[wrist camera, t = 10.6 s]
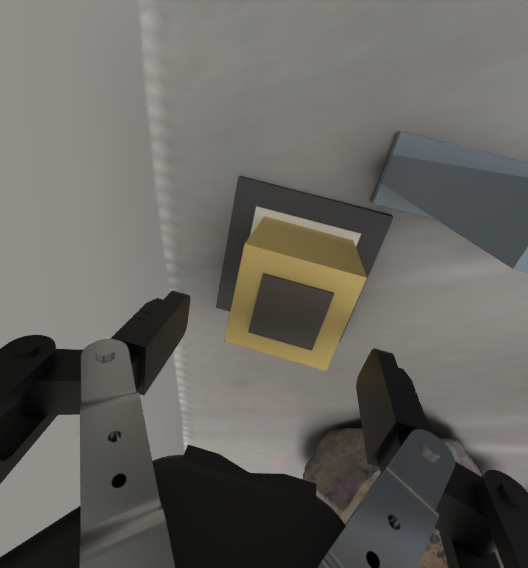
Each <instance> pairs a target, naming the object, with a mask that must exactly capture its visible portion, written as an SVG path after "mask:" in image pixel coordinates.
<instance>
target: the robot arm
mask: <svg viewBox="0 0 528 568" xmlns="http://www.w3.org/2000/svg"><path fill="white" fill-rule="evenodd" d="M189 306H190V295H187V294H183V293H180V292H176V291H171V292H170V293H169V294H168V296H167V297H166V298H165V299H164V300H162V299H158V298H157V299H154V300H152V301H150V302H148V303H146V304H145V305H144V306H143V307H142V308H141V309H140V310H139V312H137V313H136V314H135V315H134V316H133V318H131V319H130V320H129V321H128V322H127V323H126V324H125V325H124V326H123V327H122V328H121V329H120V330H119V331H118V332H117V333H116V334H115V335H114V336H113V337H112V338H111V339H104V340H99V341H96V342H94V343H92V344H90V345H88V346H87V347H86V348H85V349H84V350H70V349H56V345H55V342H54V341H53V340H52V339H51V338H49V337H47V336H43V335H30V336H24V337H21V338H18V339H15V340H13V341H11V342H9V343H8V344H6V345H5V346H4V347H2V348H1V349H0V484H1V482H2V481H3V480H4V479H5V478H6V476H7V475H8V474H9V473H10V471H11V470H12V469H13V468H14V467H15V466H16V464H17V463H18V462H19V461H20V460H21V458H22V457H23V456H24V455H25V453H26V452H27V451H28V450H29V449H30V448H31V446H32V445H33V444H34V443H35V442H36V440H37V439H38V438H39V437H40V436H41V434H42V433H43V432H44V431H45V430H46V428H47V427H48V426H49V425H50V424H51V422H52V421H53V420H54V419H55V418H56V416H57V415H67V414H68V415H70V414H80V486H81V487H80V493H81V494H80V498H81V499H80V500H81V506H79V507H78V508H76V509H75V510H73V511H71V512H70V513H68V514H67V515H65V516H64V517H62V518H61V519H59V520H58V521H56V522H54V523H53V524H51V525H50V526H48V527H47V528H45V529H44V530H42V531H41V532H39V533H37V534H36V535H34V536H33V537H31V538H30V539H28V540H27V541H25V542H23V543H22V544H20V545H19V546H17V547H16V548H14V549H12V550H11V551H9V552H8V553H6V554H5V555H3V556H2V557H0V568H417V567H418V565H419V563H420V560H421V558H422V556H423V553H424V551H425V549H426V546H427V544H428V542H429V539H430V537H431V535H432V532H433V530H434V528H435V529H437V530H438V531H439V533H440V536H441V540H442V544H443V548H444V552H445V556H446V560H447V564H448V568H501V567H500V564H499V562H498V559H497V556H496V554H495V551H496V550H497V551H498V553H499V556H500V558H501V561H502V564H503V566H504V568H528V492H527V491H526V490H525V489H524V488H523V487H522V486H521V485H520V484H519V483H518V482H516V481H515V480H514V479H512V478H511V477H510V476H508V475H506V474H504V473H502V472H500V471H497V470H488V471H487V472H485V473H484V474H483V475H482V476H480V475H478V474H476V473H474V472H473V471H471V470H469V469H467V468H466V467H464V466H462V465H460V464H459V463H457V462H456V461H455V460H454V457H453V454H452V452H451V451H450V449H449V448H448V447H447V445H446V444H445V443H444V442H443V441H442V440H441V439H440V438H438V437H437V436H436V435H434V434H432V433H431V430H430V428H429V425H428V422H427V420H426V417H425V414H424V412H423V409H422V407H421V404H420V402H419V399H418V396H417V393H415V388H414V385H413V383H412V380H411V379H410V377H409V376H408V375H407V374H406V372H405V371H404V370H403V369H401V368H398V366H397V363H396V360H395V357H394V355H393V354H392V353H389V352H385V351H382V350H378V349H373V350H372V351H371V352H370V354H369V356H368V358H367V360H366V362H365V364H364V366H363V368H362V369H361V371H360V373H359V376H358V379H357V384H356V389H357V396H358V403H359V409H360V416H361V423H362V430H363V436H364V443H365V450H366V456H367V463H368V464H371V465H374V466H378V467H379V468H380V475H379V476H378V478H377V479H376V480H375V482H374V483H373V485H372V486H371V487H370V489H369V490H368V492H367V493H366V494H365V496H364V497H363V499H362V500H361V502H360V503H359V504H358V506H357V507H356V509H355V510H354V511H353V513H352V514H351V516H350V517H349V518H348V520H347V521H346V522H345V524H344V522H343V521H342V519H341V518H340V517H339V516H338V515H337V513H336V512H335V511H334V510H333V509H332V508H331V507H330V506H329V505H328V504H327V503H325V502H324V501H323V500H322V499H320V498H319V497H317V496H316V483H312V482H309V481H306V480H303V479H299V478H296V477H293V476H289V475H286V474H263V473H249V472H247V471H245V470H244V469H242V468H241V467H239V466H237V465H236V464H234V463H233V462H231V461H229V460H228V459H226V458H225V457H223V456H221V455H220V454H217V453H214V452H211V451H207V450H204V449H201V448H197V447H194V446H191V445H188V446H187V448H186V451H185V453H184V455H173V456H167V457H162V458H159V459H156V460H154V461H152V457H151V452H150V447H149V441H148V437H147V431H146V425H145V421H144V415H143V410H142V405H141V399H140V395H139V394H141V395H145V393H146V392H147V390H148V389H149V387H150V386H151V384H152V383H153V381H154V380H155V378H156V377H157V375H158V374H159V372H160V371H161V369H162V368H163V366H164V365H165V363H166V362H167V360H168V358H169V357H170V356H171V354H172V353H173V351H174V350H175V348H176V347H177V345H178V344H179V342H180V341H181V339H182V337H183V336H184V333H185V331H186V327H187V322H188V314H189Z"/></svg>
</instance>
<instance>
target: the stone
mask: <svg viewBox="0 0 528 568" xmlns="http://www.w3.org/2000/svg"><path fill="white" fill-rule="evenodd" d="M440 439H441V438H440ZM441 440H442V441H443V442H444V443H445V444H446V445H447V447H448V448H449V449H450V451H451V452H452V454H453V457H454V460H455V461H456V462H457V463H459V464H460V465H462V466H464V467H466V468H467V469H469V470H471V471H473V472H474V473H476V474H478V475H480V476H482V474H481V472H480V471H479V469H478V467H477V466H476V464H475V463H474V461H473V460H472V459H471V457H470V456H469V455H468V454H467V453H466V452H465V451H464V447H463V446H462V445H461V443H460V441H459V439H447V438H444V439H441ZM379 475H380V468H379V467H378V466H374V465H371V464H368V463H367V456H366V450H365V443H364V436H363V430H362V429H360V428H345V429H334V430H331V431H330V432H328V433H327V435H326V436H325V437H324V438H323V439H322V440H321V441H320V442H319V444H318V446H317V450H316V451H315V454H314V457H313V458H312V459H311V460H310V461H309V462H308V463H307V464H306V466H305V472H304V473H303V480H306V481H309V482H312V483H316V496H317V497H319V498H320V499H322V500H323V501H324V502H325V503H327V504H328V505H329V506H330V507H331V508H332V509H333V510H334V511H335V512H336V513H337V515H338V516H339V517H340V518H341V519H342V521H343V522H344V524H345V522H346V521H347V520H348V518H349V517H350V516H351V514H352V513H353V511H354V510H355V509H356V507H357V506H358V504H359V503H360V502H361V500H362V499H363V497H364V496H365V494H366V493H367V492H368V490H369V489H370V487H371V486H372V485H373V483H374V482H375V480H376V479H377V478H378V476H379ZM495 554H496V556H497V559H498V562H499V564H500V567H501V568H504V566H503V564H502V561H501V558H500V556H499V553H498V551H497V550H496V551H495ZM417 568H448V564H447V560H446V556H445V552H444V548H443V544H442V540H441V536H440V533H439V531H438V530H437V529H435V528H434V530H433V532H432V535H431V537H430V539H429V542H428V544H427V546H426V549H425V551H424V553H423V556H422V558H421V560H420V563H419V565H418V567H417Z"/></svg>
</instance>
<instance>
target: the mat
mask: <svg viewBox="0 0 528 568" xmlns="http://www.w3.org/2000/svg"><path fill="white" fill-rule="evenodd" d="M264 216H266V217H270V218H274V219H277V220H281V221H285V222H288V223H292V224H296V225H299V226H303V227H307V228H310V229H314V230H318V231H322V232H325V233H329V234H333V235H336V236H340V237H344V238H347V239H351V240H353V241H354V244H355V246H356V249H357V252H358V255H359V257H360V260H361V263H362V265H363V268H364V271H365V273H366V276H367V277H368V275H369V273H370V270H371V268H372V266H373V263H374V261H375V259H376V256H377V254H378V252H379V249H380V247H381V245H382V242H383V240H384V238H385V235H386V233H387V231H388V228H389V226H390V224H391V221H392V219H393V216H392V215H389V214H386V213H382V212H378V211H374V210H370V209H366V208H362V207H358V206H355V205H351V204H347V203H343V202H339V201H335V200H331V199H328V198H324V197H320V196H316V195H312V194H308V193H304V192H301V191H297V190H293V189H289V188H285V187H281V186H277V185H274V184H270V183H266V182H262V181H258V180H254V179H250V178H247V177H243V176H240V177H238V183H237V189H236V195H235V201H234V206H233V212H232V218H231V224H230V229H229V235H228V241H227V247H226V253H225V258H224V264H223V270H222V276H221V281H220V287H219V293H218V299H217V305H216V308H220V309H223V310H227V311H230V310H231V305H232V300H233V295H234V291H235V286H236V281H237V276H238V272H239V267H240V262H241V257H242V254H243V249H244V245H245V243H246V241H247V240H248V238H249V237H250V236H251V234H252V233H253V231H254V230H255V229H256V227H257V226H258V224H259V223H260V221H261V220H262V219H263V217H264ZM366 280H367V279H366ZM365 282H366V281H365ZM363 287H364V286H363ZM362 289H363V288H362ZM360 294H361V293H360ZM359 296H360V295H359ZM358 298H359V297H358ZM357 301H358V300H357ZM356 303H357V302H356ZM355 305H356V304H355ZM354 308H355V307H354ZM353 310H354V309H353ZM352 312H353V311H352ZM351 315H352V313H351ZM350 317H351V316H350ZM349 319H350V318H349ZM348 322H349V320H348ZM347 324H348V323H347ZM346 326H347V325H346ZM345 329H346V327H345ZM345 329H344V331H345ZM343 333H344V332H343ZM342 336H343V334H342ZM342 336H341V338H342ZM340 340H341V339H340ZM339 342H340V341H339Z"/></svg>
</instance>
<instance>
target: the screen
mask: <svg viewBox="0 0 528 568" xmlns="http://www.w3.org/2000/svg"><path fill="white" fill-rule="evenodd" d="M371 202H372V203H373V204H377V205H381V206H384V207H388V208H392V209H396V210H400V211H404V212H408V213H412V214H415V215H419V216H423V217H427V218H431V219H435V220H438V221H440V222H441V223H443V224H444V225H446V226H448V227H449V228H451V229H452V230H454V231H455V232H457V233H458V234H460V235H461V236H463V237H465V238H466V239H468V240H469V241H471V242H472V243H474V244H475V245H477V246H478V247H480V248H482V249H483V250H485V251H486V252H488V253H489V254H491V255H492V256H494V257H495V258H497V259H499V260H500V261H502V262H503V263H505V264H506V265H508V266H509V267H511V268H512V269H516V270H519V271H523V272H527V273H528V162H524V161H520V160H516V159H511V158H507V157H503V156H499V155H495V154H491V153H487V152H483V151H479V150H475V149H471V148H467V147H463V146H459V145H455V144H450V143H446V142H442V141H438V140H434V139H430V138H426V137H422V136H418V135H414V134H410V133H406V132H402V131H401V132H398V133H397V135H396V138H395V140H394V143H393V146H392V148H391V151H390V154H389V156H388V159H387V161H386V164H385V167H384V169H383V172H382V174H381V177H380V180H379V182H378V185H377V187H376V190H375V193H374V195H373V198H372V200H371Z"/></svg>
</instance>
